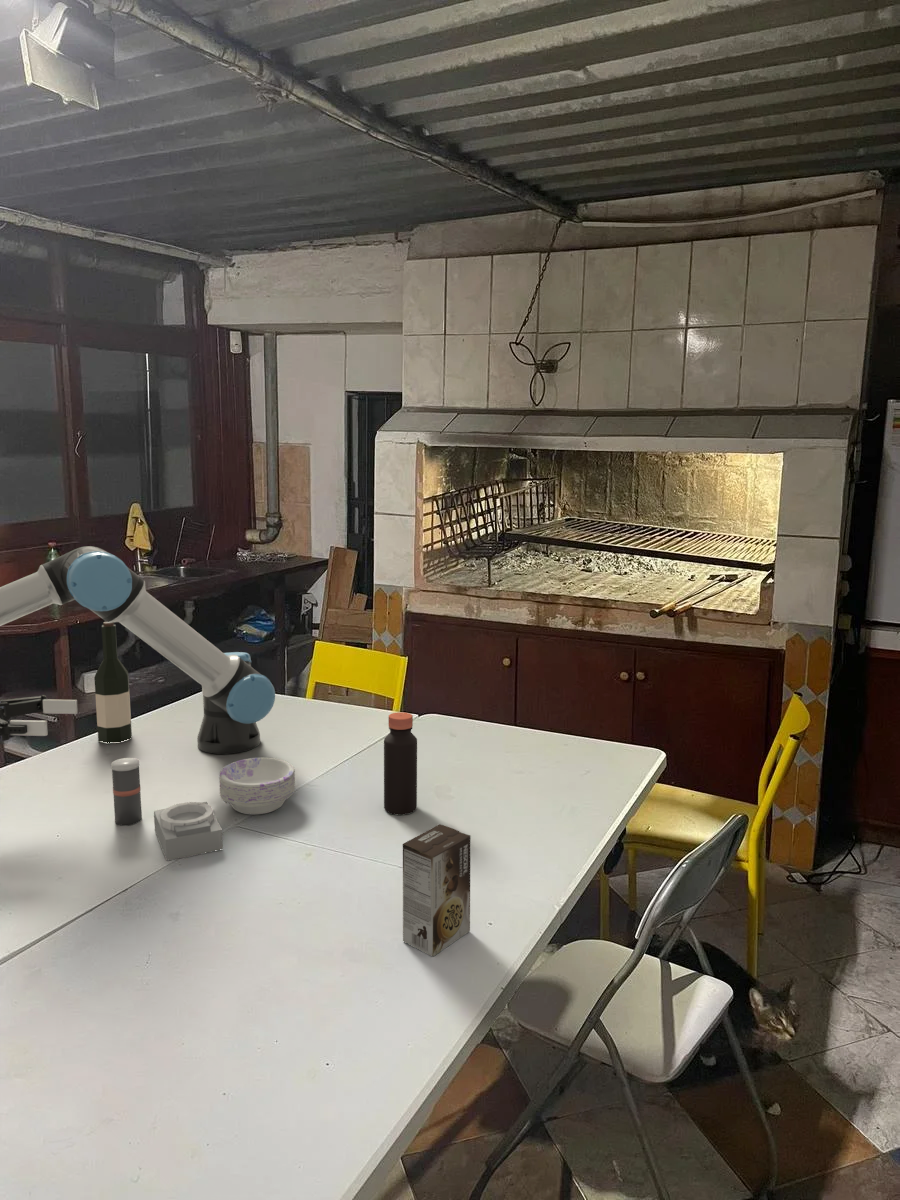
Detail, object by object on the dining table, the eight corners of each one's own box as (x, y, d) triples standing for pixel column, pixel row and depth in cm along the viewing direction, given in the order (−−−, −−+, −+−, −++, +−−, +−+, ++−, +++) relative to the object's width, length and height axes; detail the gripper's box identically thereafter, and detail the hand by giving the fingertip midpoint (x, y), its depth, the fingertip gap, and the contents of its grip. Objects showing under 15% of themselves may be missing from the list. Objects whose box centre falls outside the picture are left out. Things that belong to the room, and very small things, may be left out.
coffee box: (439, 917, 139) (440, 822, 136) (471, 932, 135) (472, 834, 132) (400, 942, 132) (400, 842, 129) (433, 958, 128) (433, 855, 125)
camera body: (207, 820, 173) (206, 794, 172) (222, 849, 161) (221, 821, 160) (154, 830, 169) (153, 803, 168) (166, 860, 157) (165, 832, 156)
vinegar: (377, 811, 179) (377, 717, 175) (394, 799, 185) (394, 708, 181) (406, 818, 176) (406, 722, 172) (422, 806, 182) (423, 713, 178)
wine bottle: (138, 734, 224) (132, 619, 219) (123, 744, 216) (116, 626, 211) (107, 732, 225) (100, 618, 219) (91, 743, 217) (83, 625, 211)
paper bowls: (278, 824, 172) (277, 786, 171) (207, 817, 175) (205, 779, 174) (306, 795, 187) (305, 759, 185) (240, 788, 190) (238, 753, 188)
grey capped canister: (140, 812, 177) (137, 756, 175) (144, 822, 172) (140, 764, 170) (113, 817, 174) (109, 760, 172) (116, 827, 170) (112, 769, 168)
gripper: (-15, 714, 181) (88, 716, 181) (-86, 756, 156) (33, 758, 157) (-17, 679, 180) (86, 681, 180) (-90, 715, 155) (31, 718, 156)
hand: (62, 717), depth 168 cm, fingers open, 13 cm apart
